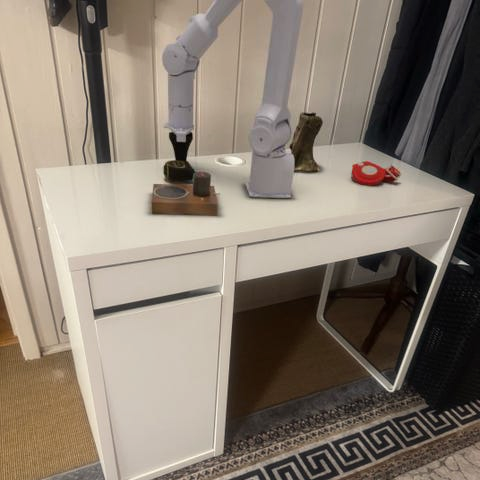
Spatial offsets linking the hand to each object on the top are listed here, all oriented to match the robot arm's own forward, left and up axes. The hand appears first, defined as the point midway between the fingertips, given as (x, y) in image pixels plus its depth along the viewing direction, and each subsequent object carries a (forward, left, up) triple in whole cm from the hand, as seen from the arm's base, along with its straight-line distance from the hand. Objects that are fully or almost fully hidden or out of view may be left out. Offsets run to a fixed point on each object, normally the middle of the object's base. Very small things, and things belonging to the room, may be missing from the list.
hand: (180, 164), depth 114 cm
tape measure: (0, +7, -2) cm, 7 cm away
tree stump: (-32, -6, -2) cm, 33 cm away
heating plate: (+2, +22, +1) cm, 22 cm away
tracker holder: (-49, +3, -2) cm, 49 cm away
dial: (-4, +22, +1) cm, 22 cm away
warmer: (0, +22, -1) cm, 22 cm away
